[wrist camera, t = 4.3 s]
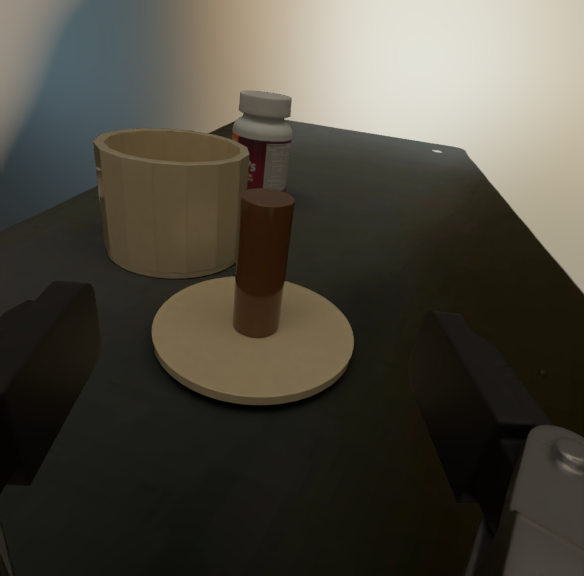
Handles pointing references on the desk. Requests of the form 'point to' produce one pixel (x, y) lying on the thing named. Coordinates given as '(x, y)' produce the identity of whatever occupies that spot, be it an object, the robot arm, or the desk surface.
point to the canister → (170, 200)
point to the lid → (254, 321)
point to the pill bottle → (265, 138)
